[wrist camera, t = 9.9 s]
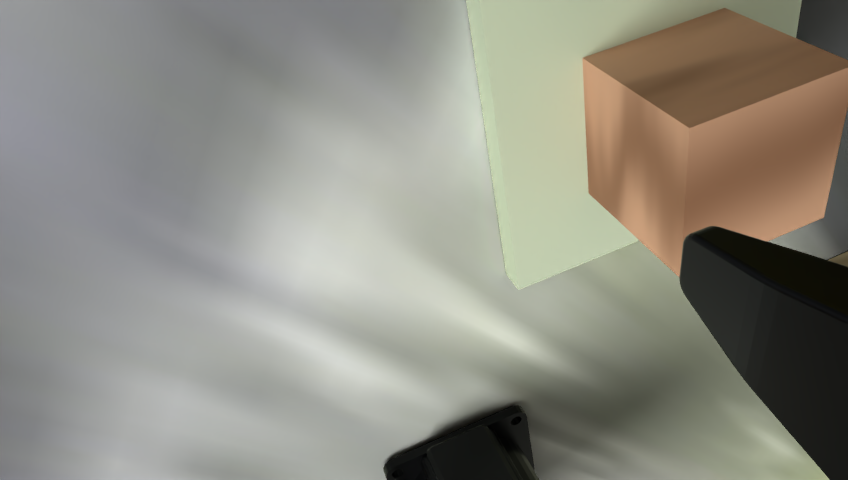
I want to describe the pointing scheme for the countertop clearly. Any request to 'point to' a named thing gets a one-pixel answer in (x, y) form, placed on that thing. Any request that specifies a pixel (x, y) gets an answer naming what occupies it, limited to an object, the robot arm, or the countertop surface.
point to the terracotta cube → (713, 130)
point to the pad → (563, 115)
